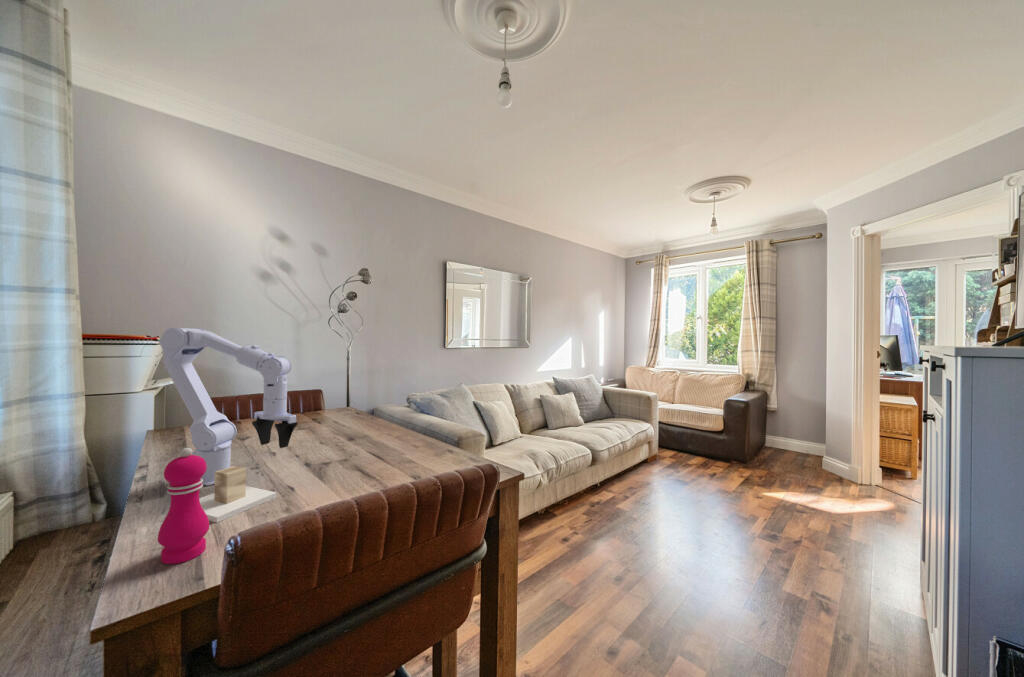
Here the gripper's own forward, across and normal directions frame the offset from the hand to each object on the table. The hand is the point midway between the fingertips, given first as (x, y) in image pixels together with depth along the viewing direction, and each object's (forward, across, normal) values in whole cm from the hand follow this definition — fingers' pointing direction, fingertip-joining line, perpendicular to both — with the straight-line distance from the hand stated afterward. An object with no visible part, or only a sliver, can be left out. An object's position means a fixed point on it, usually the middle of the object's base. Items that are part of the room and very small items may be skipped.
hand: (274, 445), depth 106 cm
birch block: (+8, +6, -16) cm, 18 cm away
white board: (+9, +6, -16) cm, 19 cm away
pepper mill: (+10, +20, -33) cm, 39 cm away
